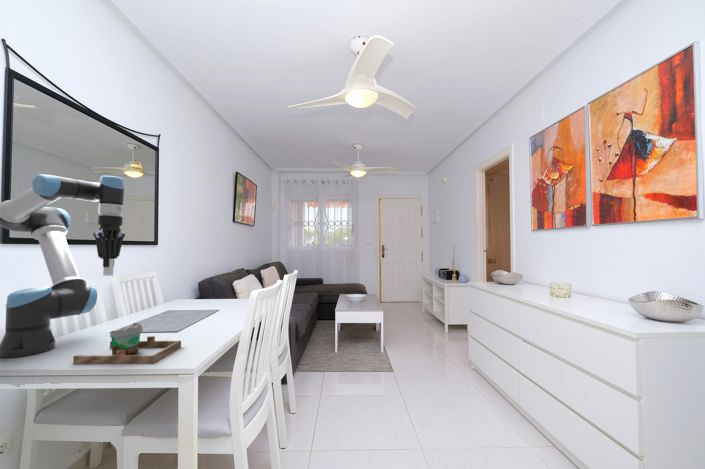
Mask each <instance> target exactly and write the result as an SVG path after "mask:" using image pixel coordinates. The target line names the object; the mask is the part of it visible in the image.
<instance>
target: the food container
mask: <svg viewBox="0 0 705 469" xmlns="http://www.w3.org/2000/svg"><path fill="white" fill-rule="evenodd" d="M143 330H144V329H143V325H142V324H141V323H140V322H133V324H132V325H131V326H129V327H123V328H121V329H119V330H111V331H110V335H109V338H111V339H110V340H111V341H110V342H112V348H111V355H116V351H117V350H125V355H138V353H139V349H140V348H139V341H141V340H140V339H141V334H142V332H143Z"/></svg>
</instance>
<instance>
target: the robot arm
mask: <svg viewBox="0 0 705 469" xmlns="http://www.w3.org/2000/svg"><path fill="white" fill-rule="evenodd" d="M31 186H32V187H31V188H29V189H28V190H26V191H24V192H22V193H21V194H19V195H17V196H16V197H14V198H13V199H8V200H4V201H1V202H0V227H2V228H4V229H5V230H9V231H12V232H13V231H14V232H20V233H22V232H24V233H25V232H26V233H27V232H29V233H30V235H31V237H32V239H33V240H37V241H38V244H39V246H40V249H41V252H42V255H43V257H44V262H45V266H46V268H47V270H48V274H49V276H50V280H51V282H52V285H51V286H38V287H35V286H34V287H29V288H24V289H19V290H17V291H14V292H11V293H9V294H8V296H7V298H6V304H5V330H4V332H5V333H4V335H3V338H2V339H1V341H0V358H1V357H3V358H1V359H5V358H6V359H11V358H12V359H13V358H20V357H27V356H31V355H32V356H33V355H37V354H40V353H44V352H47V351H50V350H52V349H54V348H56V339H55V336H54V334H53V332H52V329H51V320H53V319H58V318H59V319H60V318H65V317H71V316H79V315H82V314H88V313H90V312H91V311H92V310H93V309H94V308H95V306H96V304H97V301H98V291H97V288H96V286H93V285H87V281H86V280H85V279H84V278H81V277H80V274H79V272H78V269H77V267H76V264H75V262H74V258H73V255H72V253H71V250H70V248H69V244H68V242H67V238H66V235H67V234H68V231H70V229H71V222H72V221H71V217H70V215H69V213H68V212H67V211H66V210H65V209H63V208H60V207H59V208H58V207H54V206H48V205H50V204H52V203H54V202H55V201H57V200H60V199H61V198H64V199H71V200H72V199H73V200H80V201H84V202H85V201H86V202H92V203H96V202H98V214H99V215H98V218H97V224H98V225H99V226H100V227H99V230H98V231H96V232H95V231H94V232H93V237H94V238H95V243H96V252H97V257H99V258H100V259H101V260H102V268H103V270H102V271H103V274H102V275H103V276H114V266H115V259H118V257H120V253H121V251H122V250H121V248H122V245H123V242H124V238H125V236H126V234H125V233H122V232H121V228H120V227H121V226H123V214H124V213H123V212H124V194H125V181H124V178H122V177H120V176H115V175H101V177H100V178H99V182H92V181H86V180H80V179H76V178H75V179H74V178H68V177H64V176H57V175H54V174H42V173H39V174H37V175H35V176H34V179H33V181H32V185H31Z"/></svg>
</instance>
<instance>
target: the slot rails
mask: <svg viewBox="0 0 705 469" xmlns="http://www.w3.org/2000/svg"><path fill="white" fill-rule="evenodd" d="M181 347H182V340H156V336H155V335H152V336H151V335H148V336H147V337H146V340H140V341H139V349H147V348H148V349H152V348H153V349H158V348H159V349H160V348H161V349H162V350H159V351H158V352H156V353H154V354H135V355H125V350H117V351H116V355H112V354H110V355H109V354H107V355H106V354H103V355H102V354H97V355H96V354H94V355H92V354H91V355H90V354H88V355H87V354H83V355H82V354H81V355H79V354H77V355H74V356H72V364H73V365H74V364H77V365H78V364H79V365H80V364H81V365H82V364H88V365H89V364H90V365H91V364H155V363H157V362H158V361H161V360H162V359H164V358H165V357H167V356H168V355H170V354H172V353H173V352H175V351H176V350H178V349H179V348H181ZM109 348H110V349H112V342H111V341H109Z"/></svg>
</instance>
